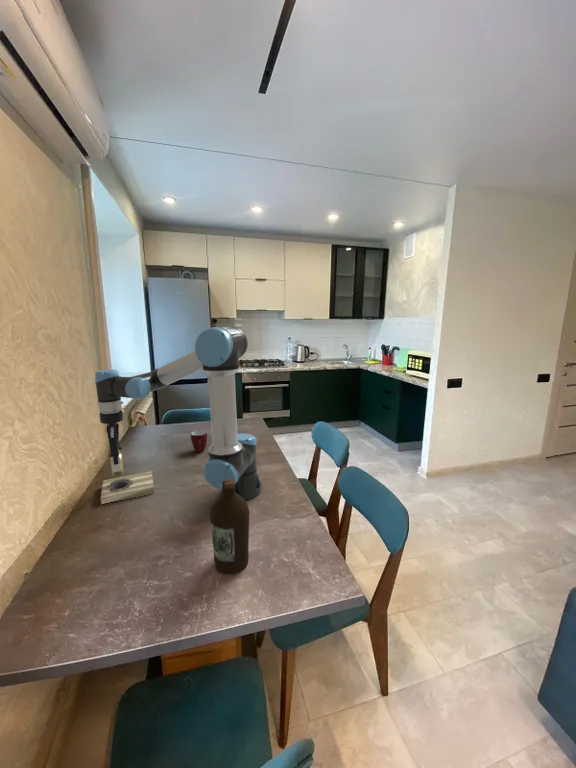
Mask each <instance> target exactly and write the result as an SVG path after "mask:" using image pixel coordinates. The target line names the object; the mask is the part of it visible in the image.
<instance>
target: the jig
mask: <svg viewBox="0 0 576 768" xmlns="http://www.w3.org/2000/svg"><path fill="white" fill-rule="evenodd" d="M153 493H154V494H155V485H154V478H153V471H147V472H146V471H145V472H140V473H135V474H131V475H125V476H120V477H115V478H110V479H104V480H103V481H102V486H101V494H100V502H101V503H100V505H102V504H104V503H109V502H114V501H118V502H120V501H119V500H123V501H125V500H124V499H127V500H130V499H129V498H132V499H135V498H134V497H136V498H139V496H141V497H144V495H145V496H150V495H154V494H153ZM149 494H150V495H149ZM114 503H115V502H114ZM109 504H110V503H109Z"/></svg>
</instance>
